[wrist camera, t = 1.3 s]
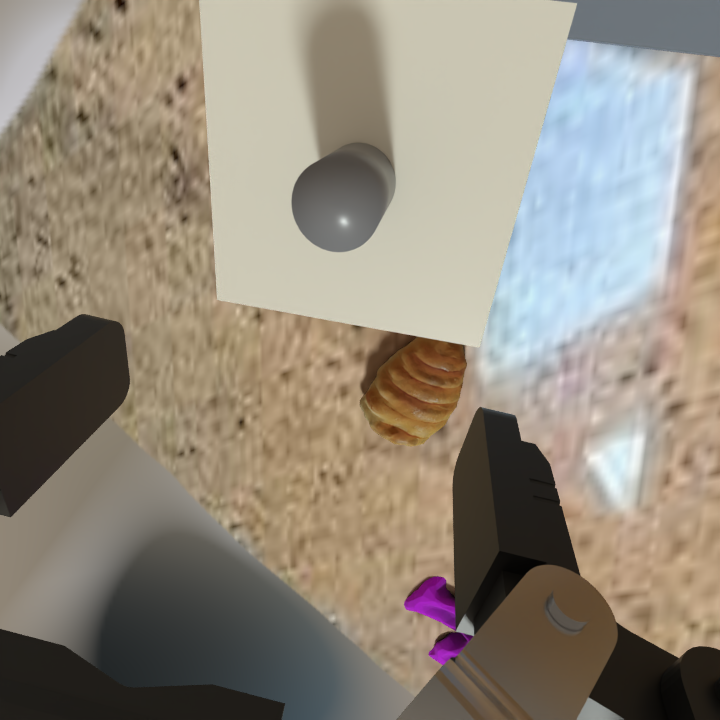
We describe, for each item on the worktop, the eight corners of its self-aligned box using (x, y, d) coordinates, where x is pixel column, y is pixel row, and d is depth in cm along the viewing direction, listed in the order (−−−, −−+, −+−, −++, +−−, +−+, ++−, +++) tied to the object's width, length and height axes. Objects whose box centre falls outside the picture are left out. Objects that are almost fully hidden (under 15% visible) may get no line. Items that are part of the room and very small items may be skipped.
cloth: (449, 672, 59) (448, 730, 53) (370, 583, 52) (360, 639, 47) (638, 647, 49) (659, 714, 44) (571, 536, 43) (586, 598, 38)
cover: (571, 6, 18) (615, -22, 13) (478, 338, 26) (483, 401, 21) (208, -34, 20) (121, -73, 15) (224, 293, 28) (172, 341, 23)
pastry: (408, 309, 34) (403, 334, 31) (490, 349, 34) (494, 377, 31) (357, 400, 39) (349, 429, 36) (430, 434, 39) (427, 465, 36)
